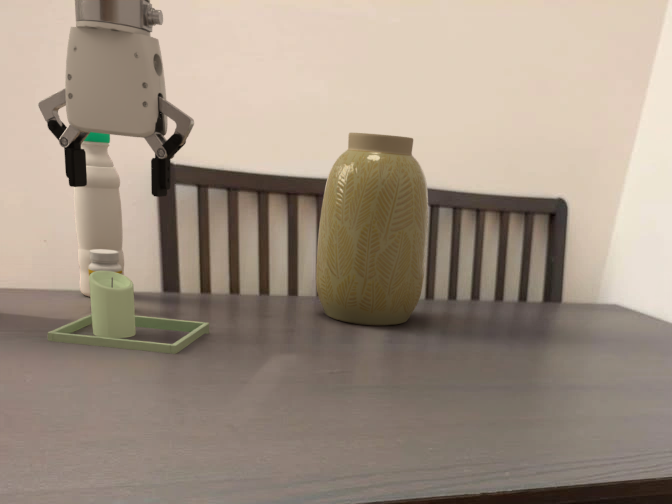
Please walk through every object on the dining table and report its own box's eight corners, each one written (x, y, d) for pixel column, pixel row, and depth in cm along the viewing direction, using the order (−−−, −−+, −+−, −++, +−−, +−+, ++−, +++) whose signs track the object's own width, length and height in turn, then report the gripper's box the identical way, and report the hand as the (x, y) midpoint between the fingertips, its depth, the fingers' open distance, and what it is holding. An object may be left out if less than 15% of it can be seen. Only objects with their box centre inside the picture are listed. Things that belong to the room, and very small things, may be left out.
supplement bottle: (90, 305, 111) (86, 248, 107) (123, 305, 112) (119, 249, 109) (91, 312, 107) (87, 252, 103) (125, 312, 108) (122, 253, 105)
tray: (49, 353, 85) (46, 332, 84) (97, 330, 97) (96, 311, 96) (176, 367, 84) (175, 345, 83) (209, 341, 96) (209, 322, 95)
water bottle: (81, 290, 121) (68, 123, 111) (125, 291, 123) (117, 127, 113) (79, 298, 115) (66, 122, 105) (126, 299, 117) (117, 127, 107)
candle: (143, 343, 90) (141, 276, 87) (106, 348, 87) (102, 278, 84) (122, 335, 94) (119, 269, 90) (85, 339, 90) (80, 271, 87)
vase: (294, 316, 115) (301, 127, 104) (343, 302, 129) (354, 135, 118) (393, 334, 109) (412, 135, 98) (434, 317, 123) (454, 142, 112)
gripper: (204, 32, 80) (202, 198, 87) (51, 16, 81) (61, 182, 88) (181, 20, 73) (181, 201, 80) (15, 2, 74) (29, 183, 81)
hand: (118, 191), depth 84 cm, fingers open, 9 cm apart
